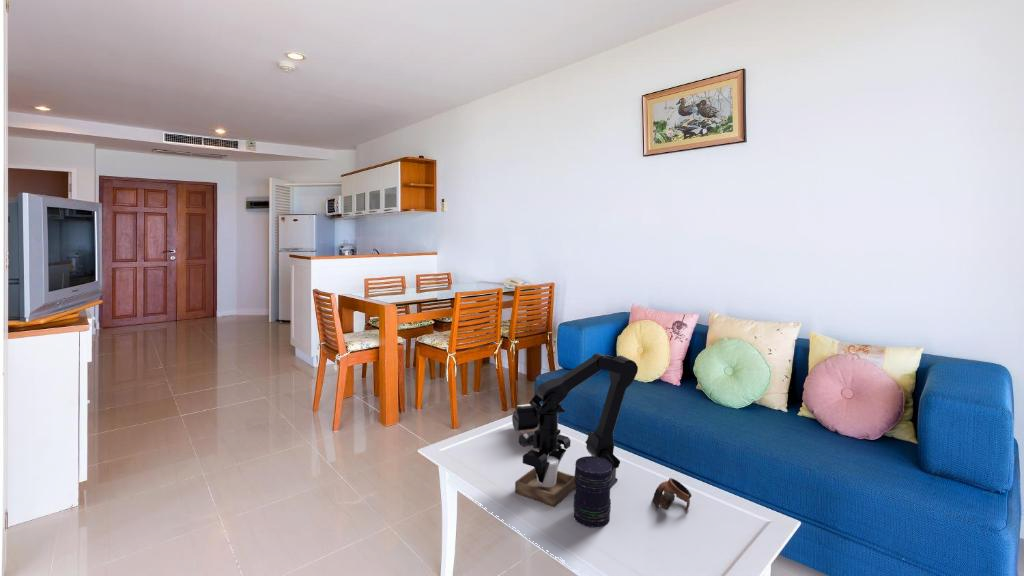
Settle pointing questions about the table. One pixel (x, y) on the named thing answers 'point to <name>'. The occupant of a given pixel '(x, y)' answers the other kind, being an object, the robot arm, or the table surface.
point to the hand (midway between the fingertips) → (546, 477)
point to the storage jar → (592, 491)
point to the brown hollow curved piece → (670, 494)
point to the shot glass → (550, 472)
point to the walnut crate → (545, 488)
